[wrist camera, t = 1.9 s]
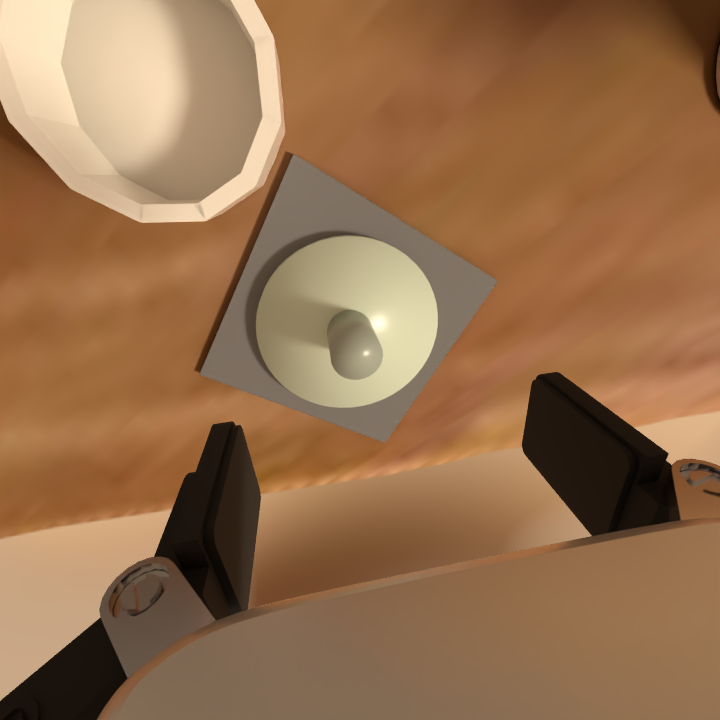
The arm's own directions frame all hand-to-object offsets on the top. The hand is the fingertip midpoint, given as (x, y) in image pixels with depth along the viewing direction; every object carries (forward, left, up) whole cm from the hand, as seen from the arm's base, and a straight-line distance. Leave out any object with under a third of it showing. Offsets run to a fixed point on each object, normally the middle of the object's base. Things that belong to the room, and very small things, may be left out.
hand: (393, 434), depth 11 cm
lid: (-3, +4, -21) cm, 22 cm away
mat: (-3, +4, -22) cm, 22 cm away
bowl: (+15, -5, -22) cm, 27 cm away
